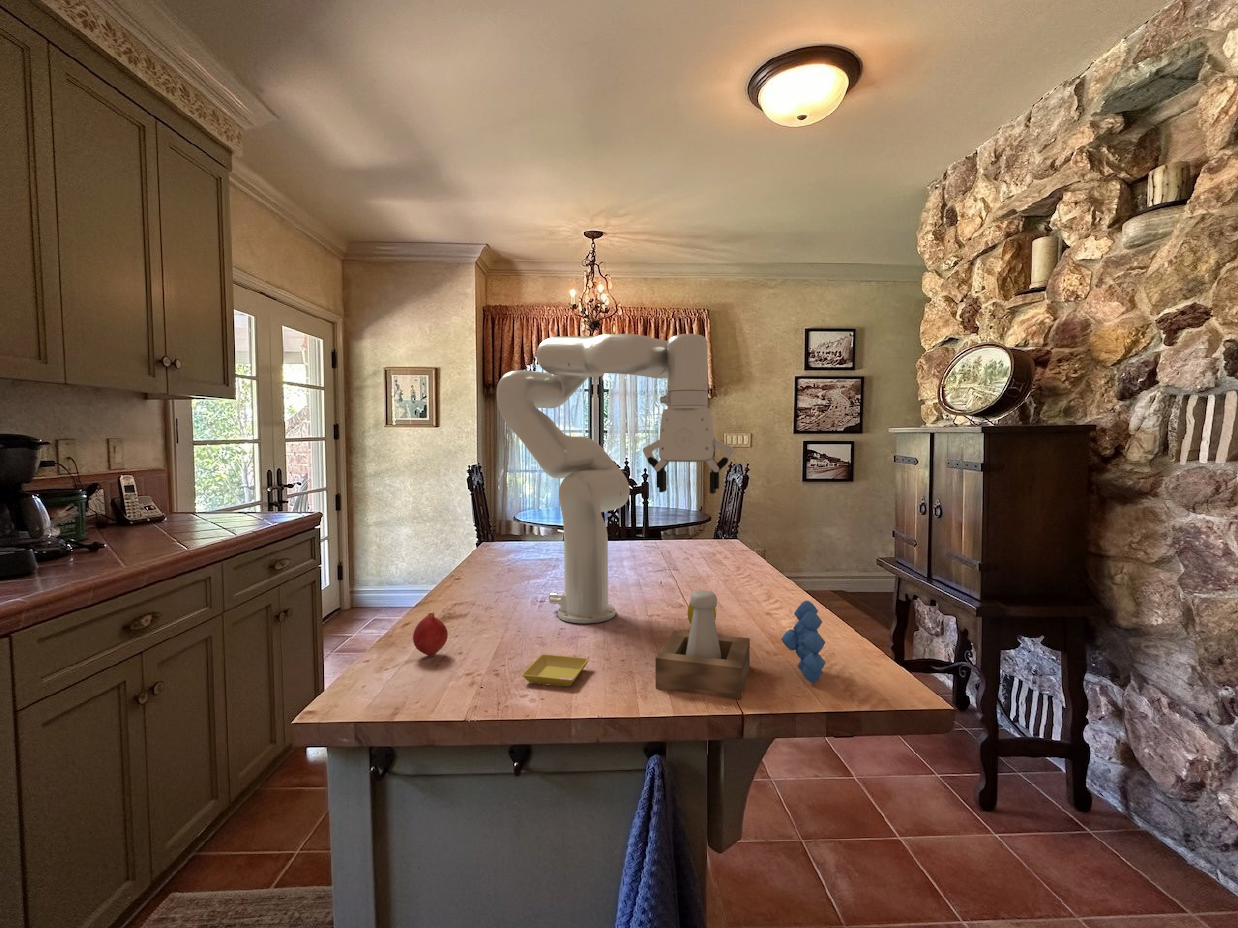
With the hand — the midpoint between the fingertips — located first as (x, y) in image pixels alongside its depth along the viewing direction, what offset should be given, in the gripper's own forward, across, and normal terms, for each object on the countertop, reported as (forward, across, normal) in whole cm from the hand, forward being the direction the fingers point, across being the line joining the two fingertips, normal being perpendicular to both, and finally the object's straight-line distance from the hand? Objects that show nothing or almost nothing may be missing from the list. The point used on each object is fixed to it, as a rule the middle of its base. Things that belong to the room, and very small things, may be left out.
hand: (687, 492), depth 107 cm
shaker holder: (+28, +6, -16) cm, 33 cm away
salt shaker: (+28, +6, -16) cm, 33 cm away
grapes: (+28, +21, -11) cm, 37 cm away
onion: (+28, -42, -22) cm, 55 cm away
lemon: (+28, +2, +4) cm, 29 cm away
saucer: (+29, -17, -23) cm, 41 cm away
